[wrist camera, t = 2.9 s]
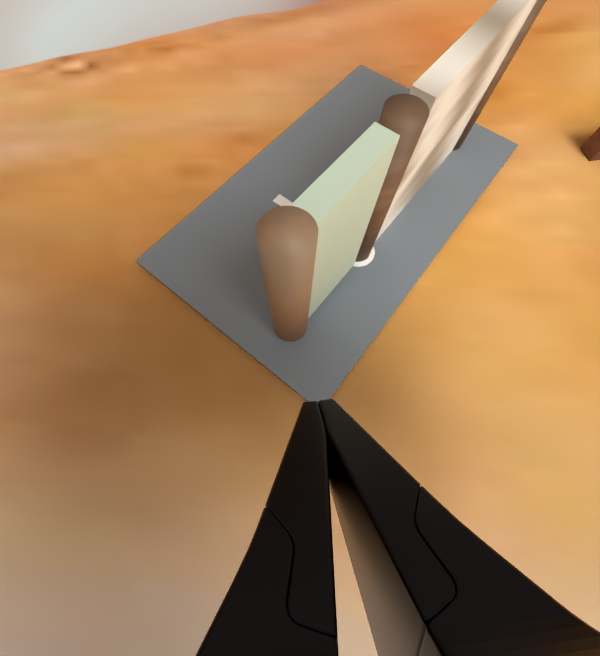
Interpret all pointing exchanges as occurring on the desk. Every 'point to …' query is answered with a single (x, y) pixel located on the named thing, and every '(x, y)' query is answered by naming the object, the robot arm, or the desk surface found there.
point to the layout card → (364, 277)
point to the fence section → (445, 106)
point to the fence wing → (321, 231)
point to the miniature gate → (592, 146)
